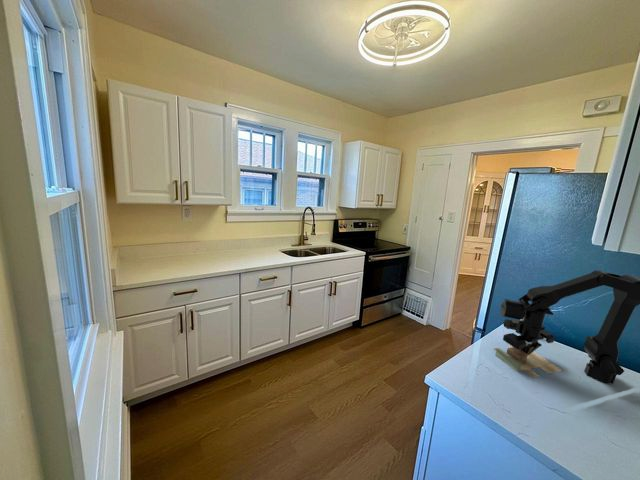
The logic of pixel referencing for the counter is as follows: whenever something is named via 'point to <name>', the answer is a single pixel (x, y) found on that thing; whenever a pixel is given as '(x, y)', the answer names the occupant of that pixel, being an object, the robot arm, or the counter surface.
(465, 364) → the counter surface
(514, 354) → the walnut block
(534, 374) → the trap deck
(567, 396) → the counter surface
